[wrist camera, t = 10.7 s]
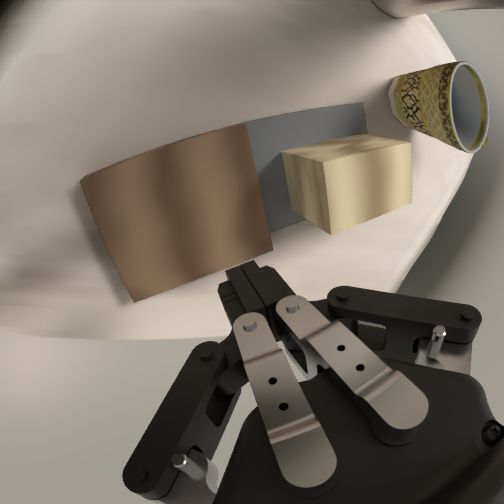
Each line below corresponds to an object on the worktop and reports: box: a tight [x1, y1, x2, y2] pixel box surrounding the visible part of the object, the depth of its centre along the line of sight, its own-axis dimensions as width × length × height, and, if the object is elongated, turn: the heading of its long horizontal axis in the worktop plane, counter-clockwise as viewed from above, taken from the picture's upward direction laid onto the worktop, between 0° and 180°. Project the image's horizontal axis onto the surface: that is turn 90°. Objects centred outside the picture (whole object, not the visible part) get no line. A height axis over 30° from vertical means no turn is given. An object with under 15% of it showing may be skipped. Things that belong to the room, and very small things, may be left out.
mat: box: [241, 103, 367, 232], centre depth 28 cm, size 14×11×1 cm
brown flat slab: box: [80, 124, 273, 303], centre depth 24 cm, size 14×12×2 cm
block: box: [281, 134, 412, 235], centre depth 25 cm, size 10×6×7 cm, turn 103°
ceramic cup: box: [388, 61, 489, 153], centre depth 25 cm, size 13×10×10 cm
